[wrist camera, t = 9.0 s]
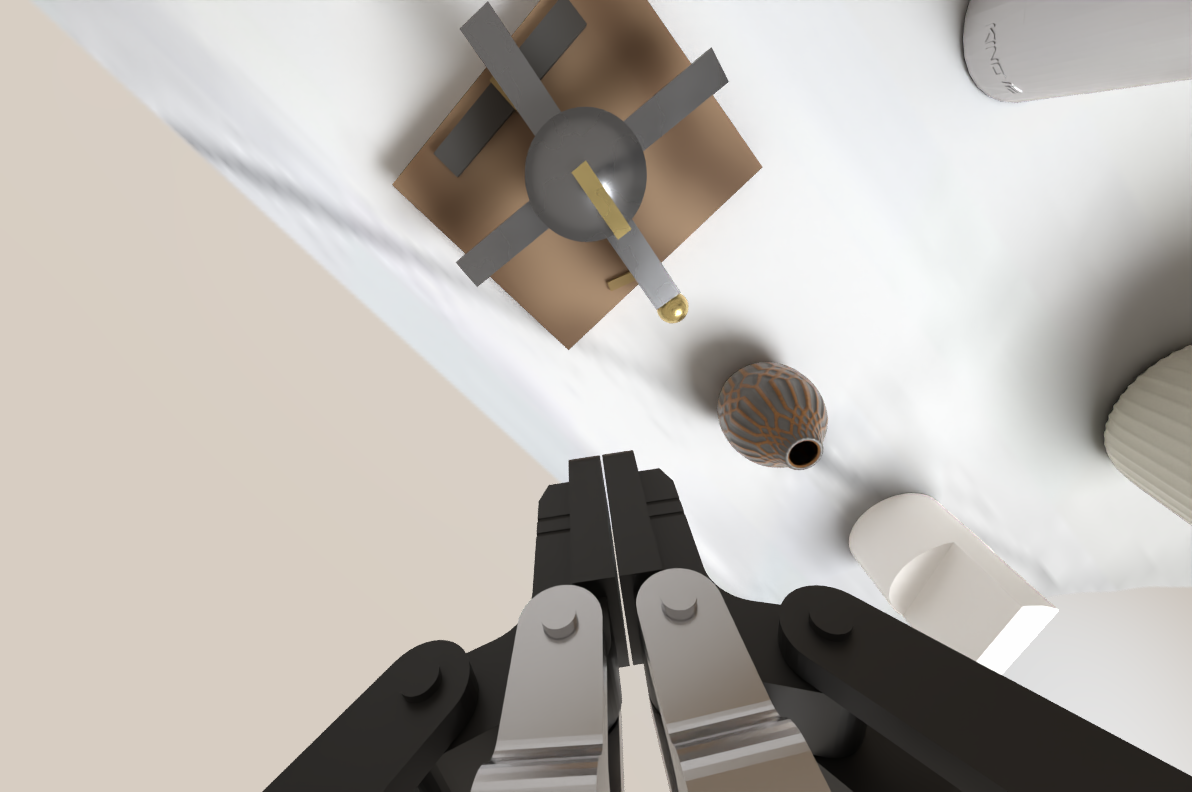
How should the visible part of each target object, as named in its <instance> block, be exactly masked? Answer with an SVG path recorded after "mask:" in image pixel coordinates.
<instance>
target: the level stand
mask: <svg viewBox="0 0 1192 792" xmlns="http://www.w3.org/2000/svg"><path fill="white" fill-rule="evenodd" d="M511 37H512V38H513V40H514V41H515V43H516V45H517V46H518V48H519V49H520V51H521V52H522V54H523V55H524V57H525V58H526V60H527V61H528V63H529V64H530V66H531V67H532V69H533V70H534V72H535V73H536V75H537V76H538V78H539V79H540V81H541V82H542V84H543V85H544V87H545V88H546V90H547V91H548V93H549V94H550V96H551V97H552V99H553V100H554V102H555V103H556V105H557V106H558V108H559V109H560V111H561V112H562V111H565V110H568V109H571V108H576V107H595V108H599V109H603V110H606V111H608V112H610V113H612V114H614V115H615V116H617V117H619V118H620V119H621V120H622V121H624V120H625V119H626V118H628V117H629V116H630V115H631V114H632V113H634V112H635V111H636V110H637V109H638V108H639V107H641V106H642V105H643V104H644V103H645V102H647V101H648V100H649V99H650V98H651V97H653V96H654V95H655V94H656V93H657V92H658V91H660V90H661V89H662V88H663V87H664V86H666V85H667V84H668V83H669V82H670V81H672V80H673V79H674V78H675V77H676V76H677V75H679V74H680V73H681V72H682V71H683V70H685V69H686V68H687V67H688V66H689V65H691V63H690V61H689V60H688V59H687V57H686V56H685V54H684V53H683V51H682V50H681V48H680V47H679V45H678V44H677V43H676V41H675V40H674V38H673V37H672V35H671V34H670V32H669V31H668V30H667V28H666V27H665V25H664V24H663V22H662V21H661V19H660V18H659V16H658V15H657V14H656V12H655V11H654V9H653V8H652V6H651V5H650V3H649V2H648V1H647V0H540V1H539V3H538V4H537V5H536V6H535V7H534V9H533V10H532V11H531V12H530V14H529V15H528V16H527V17H526V19H525V20H524V21H523V22H522V24H521V25H520V26H519V27H518V29H517V30H516V31H515V32H514V34H513V35H512V36H511ZM534 137H535V135H534V134H533V132H532V131H531V130H530V128H529V127H528V125H527V124H526V122H525V121H524V120H523V118H522V117H521V115H520V114H519V112H518V111H517V110H516V108H515V107H514V105H513V104H512V102H511V101H510V100H509V98H508V97H507V95H506V94H505V92H504V91H503V90H502V88H501V87H500V85H499V84H498V82H497V81H496V80H495V78H494V77H493V75H492V74H491V72H490V71H489V70H488V68H487V67H486V69H485V70H484V71H483V72H482V73H481V75H480V76H479V77H478V78H477V80H476V81H475V82H474V83H473V85H472V86H471V87H470V88H469V90H468V91H467V92H466V93H465V95H464V96H463V97H462V98H461V100H460V101H459V102H458V103H457V105H456V106H455V107H454V108H453V110H452V111H451V112H450V113H449V115H448V116H447V117H446V118H445V120H444V121H443V122H442V123H441V125H440V126H439V127H438V128H437V130H436V131H435V132H434V133H433V135H432V136H431V137H430V138H429V139H428V141H427V142H426V143H425V144H424V146H423V147H422V148H421V149H420V151H419V152H418V153H417V154H416V156H415V157H414V158H413V159H412V161H411V162H410V163H409V164H408V166H407V167H406V168H405V169H404V171H403V172H402V173H401V174H400V176H399V177H398V178H397V179H396V181H395V182H394V183H393V184H392V185H393V186H394V187H395V188H396V189H397V190H398V191H399V192H400V193H401V194H402V195H403V196H404V197H406V198H407V199H408V200H409V201H410V202H411V203H412V204H413V205H414V206H415V207H416V208H417V209H418V210H419V211H421V212H422V213H423V214H424V215H425V216H426V217H427V218H428V219H429V220H430V221H431V222H432V223H433V224H434V225H435V226H437V227H438V228H439V229H440V230H441V231H442V232H443V233H444V234H445V235H446V236H447V237H448V238H449V239H450V240H451V241H453V242H454V243H455V244H456V245H457V246H458V247H459V248H460V249H461V250H462V251H463V252H464V253H465V254H466V253H467V252H468V251H470V250H471V249H472V248H473V247H474V246H476V245H477V244H478V243H479V242H480V241H481V240H483V239H484V238H485V237H486V236H487V235H489V234H490V233H491V232H492V231H493V230H495V229H496V228H497V227H498V226H499V225H500V224H502V223H503V222H504V221H505V220H506V219H508V218H509V217H510V216H511V215H512V214H514V213H515V212H516V211H517V210H518V209H519V208H521V207H522V206H523V205H524V204H525V203H527V202H528V201H529V197H528V195H527V190H526V186H525V162H526V157H527V153H528V150H529V147H530V145H531V142H532V141H533V139H534ZM643 153H644V156H645V161H646V168H647V182H646V189H645V193H644V197H643V200H642V203H641V205H640V207H639V209H638V211H637V213H636V214H635V216H634V217H633V218H632V220H633V221H634V223H635V224H636V226H637V227H638V229H639V230H640V232H641V233H642V235H643V236H644V238H645V239H646V241H647V242H648V244H649V245H650V247H651V248H652V250H653V251H654V253H655V254H656V256H657V257H658V259H659V260H660V262H662V261H664V260H665V259H666V258H667V257H668V256H669V255H670V254H671V253H672V252H673V251H674V250H675V249H676V248H677V247H678V246H679V245H680V244H682V243H683V242H684V241H685V240H686V239H687V238H688V237H689V236H690V235H691V234H692V233H693V232H694V231H695V230H696V229H697V228H699V227H700V226H701V225H702V224H703V223H704V222H705V221H706V220H707V219H708V218H709V217H710V216H711V215H712V214H713V213H714V212H715V211H717V210H718V209H719V208H720V207H721V206H722V205H723V204H724V203H725V202H726V201H727V200H728V199H729V198H730V197H731V196H732V195H734V194H735V193H736V192H737V191H738V190H739V189H740V188H741V187H742V186H743V185H744V184H745V183H746V182H747V181H748V180H749V179H750V178H752V177H753V176H754V175H755V174H756V173H757V172H758V171H759V170H760V169H761V168H762V166H761V164H760V163H759V161H758V160H757V159H756V157H755V156H754V154H753V153H752V151H751V150H750V148H749V147H748V145H747V144H746V143H745V141H744V140H743V138H742V137H741V135H740V134H739V132H738V131H737V130H736V128H735V127H734V125H733V124H732V122H731V121H730V119H729V118H728V116H727V115H726V114H725V112H724V111H723V109H722V108H721V106H720V105H719V103H718V102H717V101H716V99H715V98H714V96H713V95H712V96H711V97H709V98H708V99H707V100H706V101H705V102H703V103H702V104H701V105H700V106H698V107H697V108H696V109H695V110H693V111H692V112H691V113H690V114H689V115H687V116H686V117H685V118H684V119H682V120H681V121H680V122H679V123H678V124H676V125H675V126H674V127H673V128H671V129H670V130H669V131H668V132H667V133H665V134H664V135H663V136H662V137H660V138H659V139H658V140H657V141H655V142H654V143H653V144H652V145H651V146H649V147H648V148H647V149H646V150H644V151H643ZM490 277H491V278H492V279H493V280H494V281H495V282H496V283H497V284H499V285H500V286H501V287H502V288H503V289H504V290H505V291H506V292H507V293H508V294H509V295H510V296H511V297H512V298H513V299H515V300H516V301H517V302H518V303H519V304H520V305H521V306H522V307H523V308H524V309H525V310H526V311H527V312H528V313H530V314H531V315H532V316H533V317H534V318H535V319H536V320H537V321H538V322H539V323H540V324H541V325H542V326H543V327H544V328H546V329H547V330H548V331H549V332H550V333H551V334H552V335H553V336H554V337H555V338H556V339H557V340H558V341H559V342H561V343H562V344H563V345H564V346H565V347H566V348H567V349H568V350H569V349H570V348H571V347H572V346H573V345H574V344H576V343H577V342H578V341H579V340H580V339H581V338H582V337H583V336H584V335H585V334H586V333H587V332H588V331H589V330H590V329H591V328H592V327H594V326H595V325H596V324H597V323H598V322H599V321H600V320H601V319H602V318H603V317H604V316H605V315H606V314H607V313H608V312H609V311H611V310H612V309H613V308H614V307H615V306H616V305H617V304H618V303H619V302H620V301H621V300H622V299H623V298H624V297H625V296H626V295H627V294H629V293H630V292H631V291H632V290H633V289H634V288H635V287H636V286H637V285H638V282H637V281H636V279H635V278H634V277H633V275H632V274H631V272H630V271H629V269H628V268H627V267H626V265H625V264H624V262H623V261H622V259H621V258H620V257H619V255H618V254H617V252H616V251H615V249H614V248H613V247H612V245H611V244H610V242H609V241H608V239H607V238H606V239H603V240H599V241H594V242H578V241H574V240H570V239H567V238H564V237H562V236H560V235H558V234H556V233H555V232H554V231H552V230H551V229H548V230H546V231H545V232H544V233H543V234H541V235H540V236H539V237H538V238H537V239H535V240H534V241H533V242H532V243H530V244H529V245H528V246H527V247H526V248H524V249H523V250H522V251H521V252H519V253H518V254H517V255H516V256H515V257H513V258H512V259H511V260H510V261H508V262H507V263H506V264H505V265H503V266H502V267H501V268H500V269H499V270H497V271H496V272H495V273H494V274H492V275H491V276H490Z"/></svg>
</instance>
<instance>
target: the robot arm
mask: <svg viewBox="0 0 1192 792" xmlns="http://www.w3.org/2000/svg"><path fill="white" fill-rule="evenodd" d="M963 45H964V57H965V61H966V64H967V67H968V71H969V74H970V76H971V77H972V79H973V80H974V82H975V84H976V85H977V87H978V88H980V89H981V90H982V91H983V92H984V93H985V94H986V95H988V96H989V97H992V98H994V99H997V100H999V101H1002V102H1012V103H1018V102H1025V101H1032V100H1040V99H1047V98H1055V97H1063V96H1070V95H1078V94H1088V93H1095V92H1102V91H1110V90H1117V89H1124V88H1131V87H1139V86H1146V85H1153V84H1160V83H1168V82H1175V81H1182V80H1189V79H1192V0H970V1H969V5H968V9H967V13H966V17H965V24H964V34H963ZM602 457H603V464H604V471H605V478H606V486H607V493H608V500H609V507H610V514H611V522H612V529H613V536H614V543H615V550H616V557H617V565H618V572H619V578H620V584H621V591H622V598H623V604H624V610H625V616H626V623H627V629H628V635H629V642H630V648H631V654H632V661H633V665H637V664H644V669H645V675H646V680H647V687H648V693H649V700H650V707H651V713H652V717H653V721H654V725H655V729H656V733H657V738H658V742H659V746H660V751H661V755H662V759H663V763H664V767H665V772H666V776H667V780H668V784H669V789H670V792H1192V776H1190V775H1188V774H1186V773H1184V772H1182V771H1181V770H1179V769H1177V768H1175V767H1173V766H1171V765H1169V764H1167V763H1165V762H1164V761H1162V760H1160V759H1158V758H1156V757H1154V756H1152V755H1151V754H1149V753H1147V752H1145V751H1143V750H1141V749H1139V748H1137V747H1136V746H1134V745H1132V744H1130V743H1128V742H1126V741H1124V740H1122V739H1121V738H1119V737H1117V736H1115V735H1113V734H1111V733H1109V732H1107V731H1105V730H1104V729H1101V728H1100V727H1098V726H1096V725H1094V724H1092V723H1091V722H1089V721H1087V720H1085V719H1083V718H1081V717H1079V716H1077V715H1076V714H1074V713H1072V712H1070V711H1068V710H1066V709H1064V708H1062V707H1060V706H1059V705H1057V704H1055V703H1053V702H1051V701H1049V700H1047V699H1045V698H1044V697H1042V696H1040V695H1038V694H1036V693H1034V692H1032V691H1031V690H1029V689H1027V688H1025V687H1023V686H1021V685H1019V684H1017V683H1016V682H1014V681H1012V680H1010V679H1008V678H1006V677H1004V676H1002V675H1001V674H999V673H997V672H995V671H993V670H991V669H989V668H987V667H986V666H984V665H982V664H980V663H978V662H976V661H974V660H972V659H971V658H969V657H967V656H965V655H963V654H961V653H959V652H957V651H956V650H954V649H952V648H950V647H948V646H946V645H944V644H942V643H941V642H939V641H937V640H935V639H933V638H931V637H929V636H927V635H925V634H924V633H922V632H920V631H918V630H916V629H914V628H912V627H910V626H909V625H907V624H905V623H903V622H901V621H899V620H897V619H895V618H894V617H892V616H890V615H888V614H886V613H884V612H882V611H880V610H879V609H877V608H875V607H873V606H871V605H869V604H867V603H865V602H864V601H862V600H860V599H858V598H856V597H854V596H852V595H850V594H848V593H846V592H844V591H842V590H839V589H836V588H832V587H827V586H818V585H815V586H806V587H801V588H799V589H796V590H794V591H793V592H791V593H789V594H788V595H787V596H786V597H785V599H784V600H783V602H782V604H781V605H778V604H771V603H763V602H756V601H750V600H745V599H741V598H738V597H735V596H733V595H731V594H729V593H727V592H725V591H724V590H722V589H721V588H719V587H718V586H717V585H716V584H715V583H714V582H713V581H712V580H711V579H710V578H709V576H708V575H707V573H706V571H705V569H704V567H703V564H702V561H701V559H700V556H699V553H698V550H697V547H696V544H695V541H694V539H693V536H692V533H691V530H690V527H689V524H688V522H687V519H686V516H685V515H684V510H683V507H682V505H681V502H680V500H679V496H678V493H677V490H676V488H675V485H674V482H673V480H672V479H670V478H669V477H668V476H667V475H666V474H665V473H664V472H663V471H662V470H660V469H659V468H658V469H652V470H645V471H638V468H637V464H636V460H635V456H634V452H633V450H631V451H624V452H618V453H611V454H604V455H602ZM626 666H630V665H629V658H628V650H627V643H626V635H625V628H624V620H623V613H622V606H621V599H620V591H619V584H618V576H617V569H616V561H615V554H614V546H613V540H612V532H611V525H610V518H609V511H608V505H607V499H606V492H605V486H604V480H603V473H602V467H601V461H600V455H599V456H592V457H585V458H579V459H572V460H569V482H566V483H560V484H553V485H549V486H548V488H547V489H546V491H545V492H544V494H543V496H542V497H541V499H540V500H539V508H538V523H537V538H536V551H535V565H534V580H533V593H532V599H531V600H530V601H529V603H528V604H527V605H526V606H525V608H524V609H523V611H522V613H521V615H520V617H519V621H518V624H517V625H516V626H515V627H514V628H512V629H511V630H510V631H509V632H508V633H506V634H504V635H503V636H501V637H499V638H498V639H496V640H494V641H492V642H489V643H487V644H485V645H483V646H481V647H479V648H477V649H474V650H473V651H470V652H468V653H465V651H464V650H463V649H462V648H461V647H460V646H459V645H457V644H456V643H454V642H450V641H445V640H437V641H431V642H426V643H424V644H421V645H418V646H416V647H414V648H413V649H411V650H409V651H408V652H406V653H405V654H403V655H402V656H401V657H400V658H399V659H398V660H396V661H395V662H394V663H393V664H392V665H391V666H390V667H389V668H388V669H387V670H386V671H385V672H384V673H383V674H382V675H381V676H380V677H379V678H378V679H377V680H376V681H375V682H374V683H373V684H372V685H371V686H370V687H369V688H368V689H367V690H366V691H365V692H364V693H363V694H362V695H361V696H360V697H359V698H358V699H357V700H356V701H354V702H353V704H351V705H350V706H349V707H348V709H346V710H345V711H344V712H343V713H342V714H341V715H340V716H339V717H338V718H337V719H336V720H335V721H334V722H333V723H332V724H331V725H330V726H329V727H328V728H327V729H326V730H325V731H324V732H323V733H322V734H321V735H320V736H319V737H318V738H317V739H316V740H315V741H314V742H313V743H312V744H311V745H310V746H309V747H308V748H306V749H305V750H304V751H303V752H302V754H300V755H299V756H298V757H297V758H296V759H295V760H294V761H293V762H292V763H291V764H290V765H289V766H288V767H287V768H286V769H285V770H284V771H283V772H282V773H281V774H280V775H279V776H278V777H277V778H276V779H275V780H274V781H273V782H272V783H271V784H270V785H269V786H268V787H267V788H266V789H265V790H264V791H263V792H624V771H623V770H624V769H623V743H622V716H621V703H622V694H621V685H620V676H619V667H626Z"/></svg>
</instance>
